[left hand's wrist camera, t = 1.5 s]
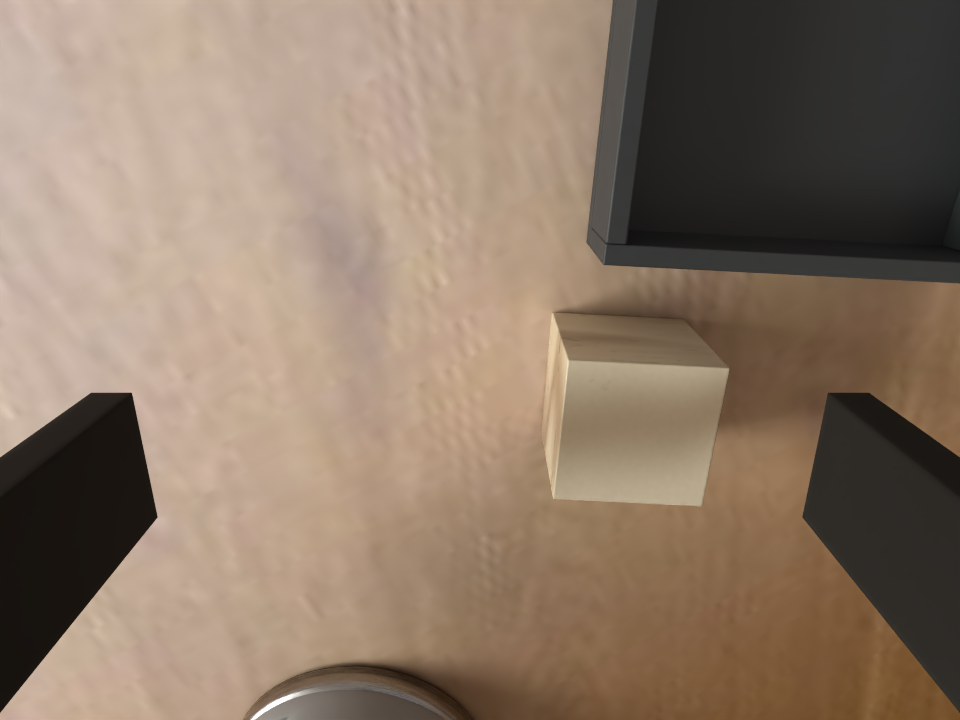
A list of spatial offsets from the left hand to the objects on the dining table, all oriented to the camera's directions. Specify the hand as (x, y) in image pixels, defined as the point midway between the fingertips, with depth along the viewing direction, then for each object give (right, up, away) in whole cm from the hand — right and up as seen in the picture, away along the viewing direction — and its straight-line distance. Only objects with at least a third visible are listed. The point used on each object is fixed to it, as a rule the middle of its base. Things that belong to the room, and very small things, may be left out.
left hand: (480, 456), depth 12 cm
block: (+6, +1, +18) cm, 19 cm away
